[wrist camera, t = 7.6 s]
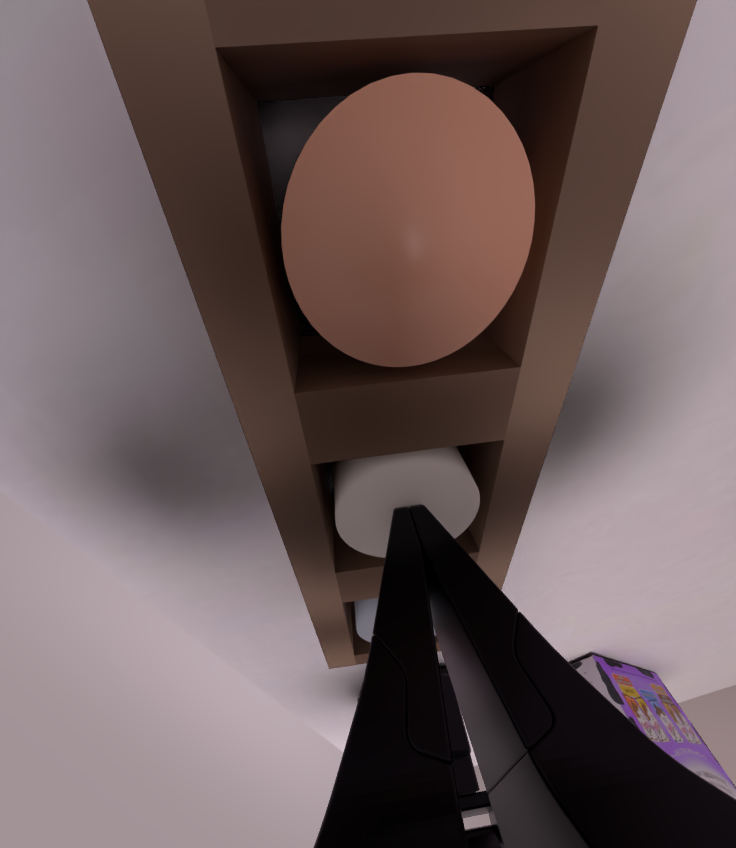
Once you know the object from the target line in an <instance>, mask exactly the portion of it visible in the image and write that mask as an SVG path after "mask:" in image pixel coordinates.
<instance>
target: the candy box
mask: <svg viewBox="0 0 736 848" xmlns="http://www.w3.org/2000/svg"><path fill="white" fill-rule="evenodd" d="M571 665H572V666H573V667H574V668H575V669H576V670H577V671H578V672H579V673H580V674H581V675H582V676H583V677H584V678H585V679H586V680H587V681H588V682H590V683H591V684H592V685H593V686H594V687H595V688H596V689H597V690H598V691H599V692H600V693H601V694H602V695H603V696H604V697H606V698H607V699H608V700H609V701H610V702H611V703H612V704H613V705H614V706H615V707H616V708H617V709H618V710H619V711H620V712H621V713H623V714H624V715H625V716H626V717H627V718H628V719H629V720H630V721H631V722H632V723H633V724H634V725H635V726H636V727H637V728H639V729H640V730H641V731H642V732H643V733H644V734H645V735H646V736H647V737H648V738H650V739H651V740H652V741H653V742H654V743H655V744H656V745H658V746H659V747H660V748H661V749H662V750H664V751H665V752H666V753H668V754H669V755H670V756H671V757H673V758H674V759H675V760H677V761H678V762H679V763H681V764H682V765H684V766H685V767H686V768H688V769H689V770H691V771H692V772H694V773H695V774H697V775H698V776H700V777H701V778H703V779H705V780H706V781H708V782H709V783H711V784H713V785H714V786H716V787H717V788H719V789H720V790H722V791H724V792H725V793H727V794H728V795H730V796H732V797H733V798H735V799H736V787H735V786H734V784H733V783H732V781H731V780H730V779H729V777H728V776H727V774H726V773H725V771H724V770H723V768H722V767H721V766H720V764H719V763H718V761H717V760H716V758H715V757H714V756H713V754H712V753H711V751H710V750H709V748H708V747H707V745H706V744H705V743H704V741H703V740H702V739H701V737H700V736H699V734H698V732H697V731H696V730H695V728H694V727H693V725H692V724H691V722H690V721H689V720H688V719H687V717H686V715H685V714H684V713H683V711H682V710H681V708H680V707H679V705H678V704H677V702H676V701H675V699H674V698H673V697H672V695H671V694H670V692H669V691H668V689H667V688H666V687H665V685H664V684H663V682H662V681H661V679H660V678H659V677H658V675H657V674H656V673H653V672H650V671H645V670H643V669H640V668H635V667H632V666H629V665H626V664H622V663H619V662H616V661H612V660H608V659H605V658H602V657H598V656H594V655H592V656H591V657H589V658H586V659H583V660H580V661H577V662H575V663H573V664H571Z"/></svg>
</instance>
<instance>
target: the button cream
mask: <svg viewBox="0 0 736 848" xmlns="http://www.w3.org/2000/svg"><path fill="white" fill-rule="evenodd" d="M333 480H334V502H335V522H336V528H337V531H338V533H339V535H340V537H341V538H342V539H343V540H344V542H346V543H347V544H348V545H349V546H350V547H352V548H354V549H355V550H357V551H359V552H361V553H364V554H367V555H371V556H375V557H382V558H385V557H386V551H387V545H388V539H389V533H390V527H391V521H392V515H393V510H394V509H395V508H399V507H408V508H409V507H410V506H413V505H420V504H422V505H424V506H426V507H427V509H428V510H429V511H430V512H431V513H432V514H433V515H434V516H435V517H436V519H437V520H438V521H439V522H440V523H441V524H442V525H443V526H444V528H445V529H446V530H447V531H448V532H449V533H450V534H451V535H452V536H453V538H454V539H455V538H456V537H458V536H459V535H460V534H462V533H463V532H464V531H465V530H466V529H467V528H468V526H469V525H470V524H471V523H472V521H473V520H474V518H475V516H476V514H477V512H478V509H479V505H480V493H479V490H478V487H477V485H476V483H475V481H474V479H473V477H472V475H471V473H470V472H469V470H468V468H467V466H466V464H465V462H464V460H463V458H462V456H461V454H460V452H459V450H458V448H457V447H456V446H452V447H444V448H437V449H429V450H421V451H413V452H405V453H397V454H390V455H382V456H374V457H366V458H358V459H351V460H343V461H335V462H333Z"/></svg>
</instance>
